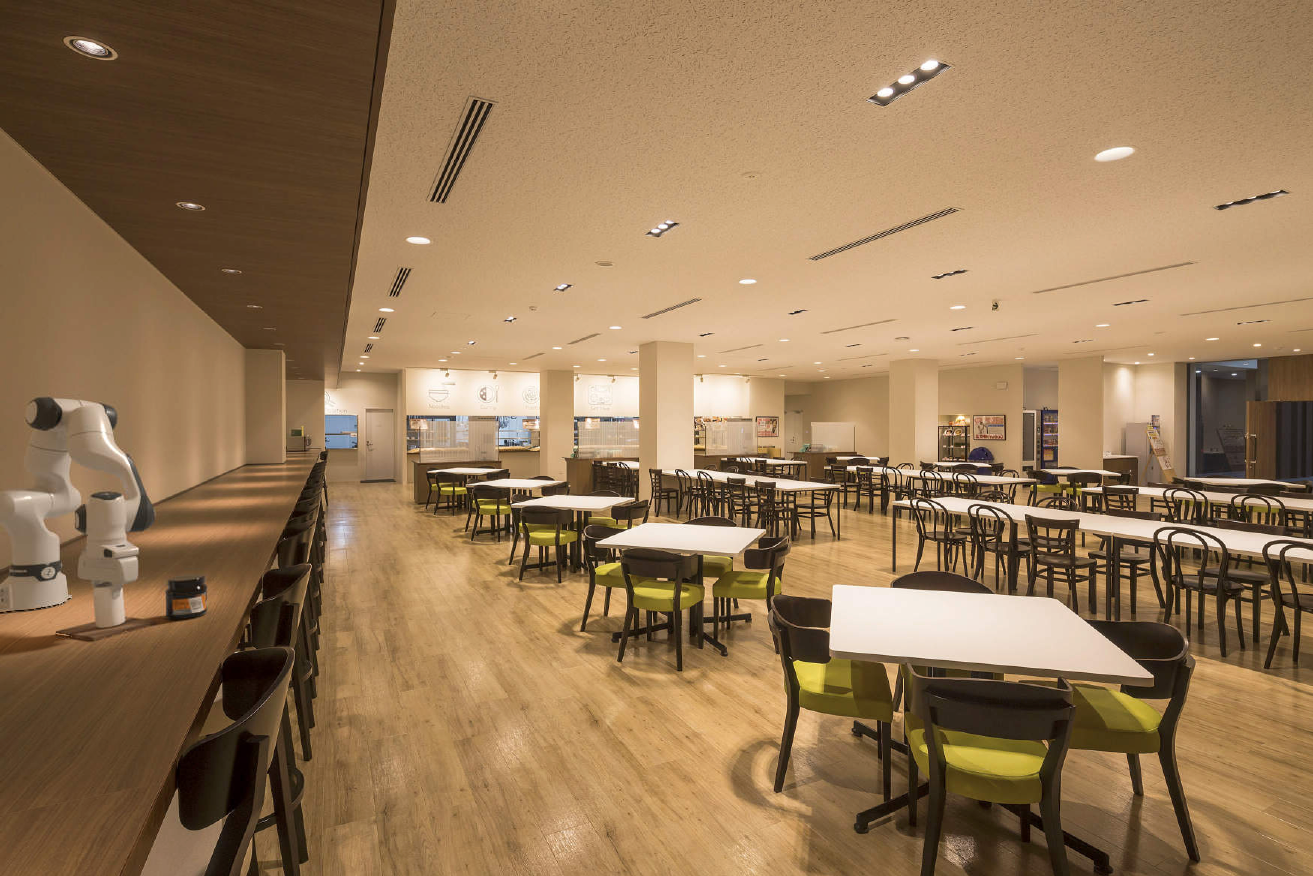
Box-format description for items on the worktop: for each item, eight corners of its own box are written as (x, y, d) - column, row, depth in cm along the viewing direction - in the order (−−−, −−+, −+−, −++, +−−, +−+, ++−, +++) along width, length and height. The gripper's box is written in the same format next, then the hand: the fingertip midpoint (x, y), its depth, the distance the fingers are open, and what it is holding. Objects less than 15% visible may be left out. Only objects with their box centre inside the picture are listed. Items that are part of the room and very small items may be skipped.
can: (131, 621, 187) (127, 581, 186) (109, 629, 181) (105, 587, 180) (112, 620, 188) (109, 580, 187) (89, 628, 182) (86, 587, 181)
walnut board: (55, 634, 179) (55, 631, 179) (119, 618, 194) (119, 615, 194) (93, 641, 174) (93, 637, 174) (156, 624, 189) (156, 620, 189)
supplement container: (202, 619, 195) (201, 579, 195) (160, 622, 191) (159, 582, 191) (211, 609, 205) (211, 572, 204) (172, 613, 201) (171, 575, 200)
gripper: (70, 548, 184) (70, 595, 184) (118, 553, 178) (118, 602, 178) (95, 544, 190) (95, 590, 190) (143, 549, 184) (143, 596, 184)
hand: (107, 596), depth 184 cm, fingers closed on can, 5 cm apart
